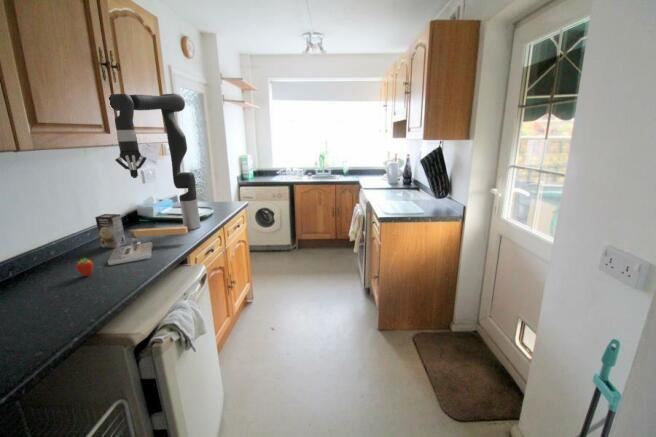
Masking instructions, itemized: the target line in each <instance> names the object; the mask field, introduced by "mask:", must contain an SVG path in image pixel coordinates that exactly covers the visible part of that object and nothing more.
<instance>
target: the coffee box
mask: <svg viewBox="0 0 656 437" xmlns="http://www.w3.org/2000/svg"><path fill="white" fill-rule="evenodd" d="M121 216H122V215H121V214H120V213H118V214H117V213H104V214H100V215H97V216H95V217H94V218H95V222H96V226H97V231H98V235H99V239H100V244H101V247H102V248H117V247H123V246H125V245H126V244H127V242H126V236H125V231H124V226H123V222H122V221H123V220H122V217H121Z"/></svg>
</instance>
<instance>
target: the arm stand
mask: <svg viewBox="0 0 656 437" xmlns="http://www.w3.org/2000/svg"><path fill="white" fill-rule="evenodd" d="M130 238H131V242H130V243H129V246H131V245H137V244H142V242H141V241H139V240H138V237H130Z"/></svg>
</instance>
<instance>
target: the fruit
mask: <svg viewBox="0 0 656 437" xmlns="http://www.w3.org/2000/svg"><path fill="white" fill-rule="evenodd" d="M79 260H80V261H76V262H77V263H76V269H77V271H78V272H79V273H80V274H81V275H82V276H84V277H89V276H90V275H91V274H92V272H93V269H94V263H93V262H92V260H90V258H87V257H82V258H79Z"/></svg>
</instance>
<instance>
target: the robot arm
mask: <svg viewBox="0 0 656 437" xmlns="http://www.w3.org/2000/svg"><path fill="white" fill-rule="evenodd" d="M109 100H110V105H111V107H112V108H113V109H114V110H113V109H112V110H113V111H115V110H116V112H117V111H118V112H119V113H118V116H116V117H115V118H114V125H115V129H116V138H117V139H116V140H117V143H118V148H119V152H120V153H119V156H117V158H115V162H116V163H117V164H119V165H120V166H121V167H123V168H124V170H129V173H130V177H131V178H133V179H137V178H138V177H139V173H138V169H141V168H142V166H143V165H144V163H145V162H146V160H147V157H146V156H143V155H142V154H141V151H140V148H139V144H138V142H139V141H138V138H137V133H136V130H135V126H134V111H154V110H160V111H161V113H162V117H163V121H164V125H165V132H166V137H167V145H168V150H169V153H170V154H169V155H170V160H171V167H172V179H173V180H172V181H173V185H174V186H175V188H176V189H187V191H186V192H185V193H182V194H180V195H179V197H178V198H179V205H180V209H181V217H182V224H183V227H187V230H191V231H192V230H196V229H200V228H201V219H200V213H199V212H200V211H199V205H198V200H197V199H198V197H197V186H196V177H195V174H194V173H193V172H190V171H189V172H188V171H187V172H182V170H181V165H182V161H183V159H184V157H185V156H186V154H187V151H188V145H187V137H186V135H185V133H184V132H183V130H182V128H181V127H180V126H179V124H178V123H177V120H176V116H175V115H176V114H175V113H179V112H182V111H183V110H184V109H185V106H186V102H185V99H184V98H183V96H182V95H180V94H177V93H163V94H161V95H150V94H127V93H112V94H110V97H109ZM139 160H140V163H139V164H138V165H137V163H138V161H139ZM123 161H124V162H125V163H126V164H125V163H124V162H123Z"/></svg>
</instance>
